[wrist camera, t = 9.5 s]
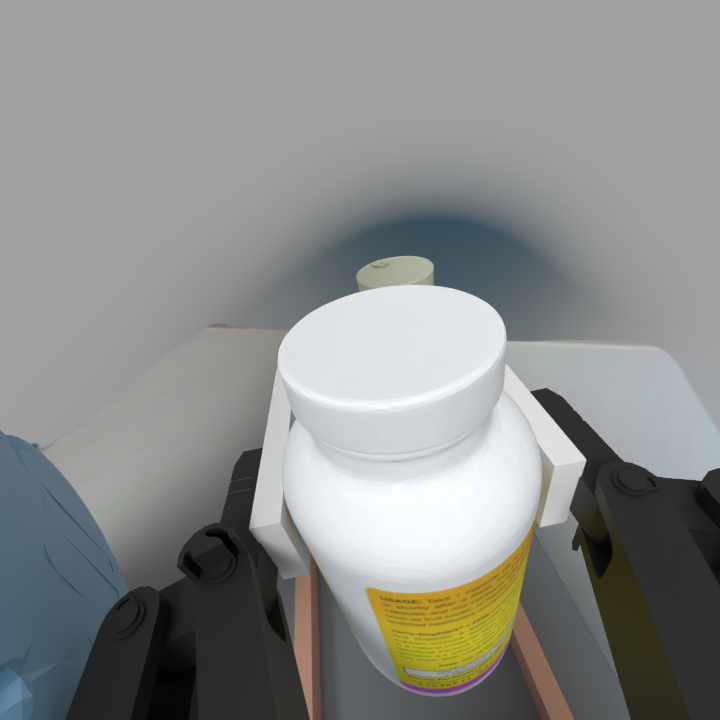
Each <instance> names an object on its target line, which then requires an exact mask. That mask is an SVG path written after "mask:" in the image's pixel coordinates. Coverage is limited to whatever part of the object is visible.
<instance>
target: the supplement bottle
mask: <svg viewBox="0 0 720 720" xmlns="http://www.w3.org/2000/svg"><path fill="white" fill-rule="evenodd" d="M506 348H507V339H506V329H505V326H504V323H503V321H502V319H501V317H500V316H499V314H498V313H497V311H496V310H495V309H493V308H492V307H491V306H490V305H489V304H488V303H486V302H484V301H483V300H481V299H479V298H477V297H475V296H473V295H471V294H468V293H466V292H462V291H459V290H456V289H452V288H445V287H440V286H430V285H401V286H389V287H381V288H376V289H371V290H366V291H362V292H358V293H355V294H352V295H349V296H346V297H342V298H340V299H338V300H335V301H333V302H330V303H328V304H326V305H324V306H322V307H320V308H318V309H316V310H314V311H313V312H311V313H309V314H308V315H307V316H305V317H304V318H303V319H302V320H300V321H299V322H298V323H297V324H296V325H295V326H294V327H293V328H292V329H291V330H290V331H289V332H288V334H287V335H286V336H285V338H284V339H283V341H282V343H281V346H280V348H279V353H278V370H279V373H280V376H281V379H282V382H283V385H284V387H285V390H286V393H287V397H288V400H289V403H290V407H291V409H292V412H293V414H294V416H295V418H296V419H295V421H294V424H293V426H292V428H291V430H290V432H289V435H288V438H287V440H286V443H285V448H284V452H283V458H282V484H283V491H284V497H285V500H286V503H287V507H288V510H289V512H290V514H291V517H292V519H293V521H294V523H295V525H296V527H297V529H298V531H299V533H300V535H301V537H302V538H303V540H304V542H305V544H306V546H307V547H308V549H309V551H310V553H311V555H312V556H313V558H314V560H315V562H316V564H317V566H318V568H319V570H320V571H321V573H322V575H323V577H324V579H325V581H326V583H327V585H328V587H329V588H330V590H331V592H332V594H333V596H334V598H335V600H336V602H337V604H338V606H339V608H340V610H341V612H342V614H343V615H344V617H345V619H346V621H347V623H348V625H349V627H350V629H351V631H352V633H353V634H354V636H355V638H356V640H357V642H358V644H359V645H360V647H361V648H362V650H363V652H364V653H365V654H366V656H367V657H368V659H369V660H370V661H371V663H372V664H373V665H374V666H375V667H376V668H377V669H378V670H379V671H380V672H381V673H382V674H383V675H384V676H385V677H386V678H388V679H389V680H391V681H392V682H393V683H395V684H397V685H398V686H400V687H402V688H404V689H406V690H408V691H411V692H414V693H417V694H420V695H424V696H433V697H441V696H452V695H456V694H459V693H462V692H465V691H467V690H469V689H471V688H473V687H474V686H476V685H478V684H479V683H481V682H482V681H483V680H484V679H485V678H486V677H487V676H488V675H489V674H490V673H491V672H492V671H493V670H494V669H495V667H496V666H497V665H498V663H499V662H500V660H501V658H502V657H503V655H504V652H505V650H506V648H507V646H508V643H509V640H510V636H511V633H512V629H513V625H514V621H515V616H516V612H517V607H518V602H519V597H520V592H521V588H522V583H523V578H524V573H525V568H526V563H527V559H528V554H529V549H530V544H531V539H532V534H533V529H534V524H535V520H536V515H537V511H538V505H539V499H540V493H541V485H542V460H541V454H540V449H539V445H538V442H537V439H536V436H535V433H534V431H533V429H532V426H531V424H530V423H529V421H528V419H527V417H526V416H525V414H524V413H523V411H522V410H521V409H520V407H519V406H518V405H517V403H516V402H515V401H514V400H513V399H512V398H511V397H510V396H509V395H508V394H507V393H506V392H505V391H504V390H503V386H504V380H505V364H506Z"/></svg>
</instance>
